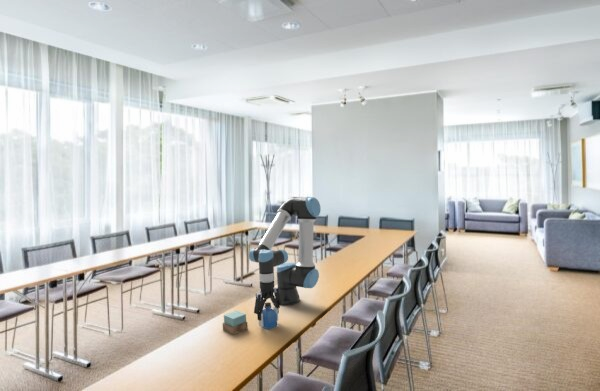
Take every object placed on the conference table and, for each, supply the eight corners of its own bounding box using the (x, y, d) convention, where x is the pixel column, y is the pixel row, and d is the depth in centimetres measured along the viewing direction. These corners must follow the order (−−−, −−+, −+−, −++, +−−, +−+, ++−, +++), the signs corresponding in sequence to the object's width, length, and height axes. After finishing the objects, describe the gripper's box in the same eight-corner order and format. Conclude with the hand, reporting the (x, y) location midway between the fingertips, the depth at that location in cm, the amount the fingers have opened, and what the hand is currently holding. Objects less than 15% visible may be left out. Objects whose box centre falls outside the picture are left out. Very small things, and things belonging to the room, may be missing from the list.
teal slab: (237, 317, 193) (236, 310, 193) (246, 321, 188) (245, 314, 187) (224, 322, 188) (223, 315, 187) (233, 326, 182) (232, 318, 182)
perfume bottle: (267, 329, 186) (266, 306, 185) (260, 326, 191) (259, 303, 190) (277, 325, 190) (276, 303, 189) (270, 322, 195) (269, 300, 194)
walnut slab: (237, 325, 194) (237, 317, 194) (247, 329, 187) (247, 322, 187) (222, 330, 187) (222, 323, 187) (233, 335, 181) (232, 327, 181)
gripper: (278, 274, 199) (279, 314, 201) (245, 284, 184) (247, 327, 185) (287, 277, 194) (289, 318, 195) (254, 287, 178) (256, 331, 180)
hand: (268, 322), depth 190 cm, fingers open, 9 cm apart
